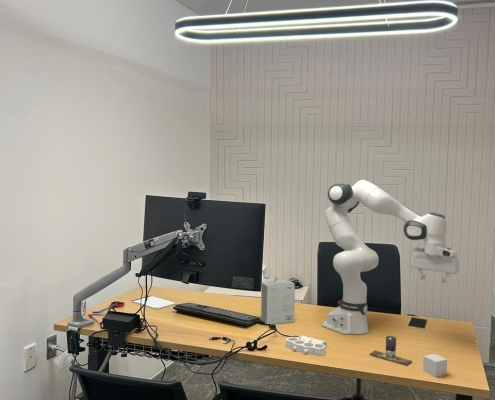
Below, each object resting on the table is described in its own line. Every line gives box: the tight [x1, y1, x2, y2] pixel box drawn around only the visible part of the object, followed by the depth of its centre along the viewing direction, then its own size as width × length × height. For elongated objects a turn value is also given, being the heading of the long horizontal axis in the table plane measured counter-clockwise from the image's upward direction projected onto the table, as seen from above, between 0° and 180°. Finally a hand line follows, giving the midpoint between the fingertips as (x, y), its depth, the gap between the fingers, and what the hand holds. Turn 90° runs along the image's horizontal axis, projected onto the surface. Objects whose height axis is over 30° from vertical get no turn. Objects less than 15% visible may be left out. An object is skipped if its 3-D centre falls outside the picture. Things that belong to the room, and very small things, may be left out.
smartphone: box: [407, 316, 428, 330], centre depth 241 cm, size 8×1×15 cm
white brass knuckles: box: [285, 335, 328, 356], centre depth 204 cm, size 3×18×15 cm
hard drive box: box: [260, 279, 296, 325], centre depth 239 cm, size 16×8×20 cm, turn 108°
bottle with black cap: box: [384, 335, 397, 359], centre depth 195 cm, size 4×4×8 cm
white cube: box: [422, 353, 448, 378], centre depth 182 cm, size 6×6×6 cm
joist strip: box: [369, 350, 413, 367], centre depth 195 cm, size 16×6×1 cm, turn 50°
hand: (433, 280), depth 209 cm, fingers open, 8 cm apart
